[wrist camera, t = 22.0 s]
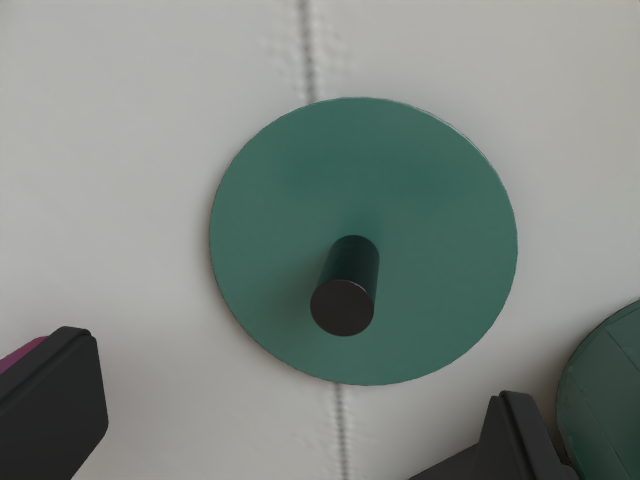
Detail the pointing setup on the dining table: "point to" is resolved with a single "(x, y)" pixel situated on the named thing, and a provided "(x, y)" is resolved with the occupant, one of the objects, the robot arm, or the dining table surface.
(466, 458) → the marked dark base plate
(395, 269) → the pot lid
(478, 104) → the dining table surface
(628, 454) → the pot
